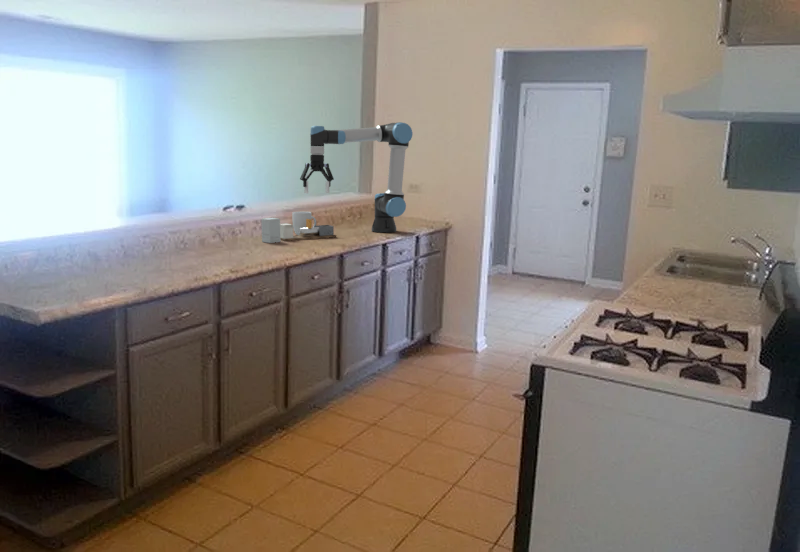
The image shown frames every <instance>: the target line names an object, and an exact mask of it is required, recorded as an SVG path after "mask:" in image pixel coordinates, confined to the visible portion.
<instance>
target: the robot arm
mask: <svg viewBox="0 0 800 552" xmlns="http://www.w3.org/2000/svg"><path fill="white" fill-rule="evenodd" d="M309 135H310V161H309V162H310V163H309V162H305V164H304V168H303V170H302V173H301V176H300V178H299V180H300V181H302V183H303V184H302V185H303V186H302V187H304V194H309V181H308V180H309V179H310V177H311V176H312V175H313V174H314V173H315V172H320V173H321V174H322V175H323V176H324V177H323V178H325V179H326V181H325V193H326V194H330V187H331V182H332V181H334V176H333V174H332V170H331V169H330V163H325V155H324V154H325V145H344V144H345V143H358V142H359V143H360V142H374V141H376V142H378V143H388V147H389V148H390V153H389V154H390V155H389V166H388V175H387V176H388V178H387V188H386V190H385V191H384V193H383V192H381V193H380V192H379V193H376V194H375V195H374V199H373V200H374V219H373V222H372V225H371V232H373V231H374V233H382V232H386V233H396V232H397V225H396V221H395V218H397V217H400V216H402V215H403V214H404V212H405V211H406V208H407V203H406V201H405V200H404V198H405V193H404V192H403V181H404V173H405V172H404V169H405V157H406V150H407V149H408V148H409V144H410V143H409V142H410V141H411V140H412V138H413V128H411V125H409V124H408V123H405V122H389V123H387V124H380V125H376V127H375V126H374V127H363V128H360V127H359V128H347V129H344V128H343V129H332V130H331V129H326V128H325V126H323V125H312V126H311V127H310V134H309ZM309 168H310V169H309ZM394 217H395V218H394Z"/></svg>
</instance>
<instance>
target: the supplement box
mask: <svg viewBox="0 0 800 552" xmlns="http://www.w3.org/2000/svg"><path fill="white" fill-rule="evenodd" d="M260 220H261V242H262V243H267V244H273V243H274V244H275V242H276V243H280V242H281V241H282V240H281V238H280V224H281V219H280V218H277V217H276V218H275V217H266V218H265V217H264V218H261V219H260Z"/></svg>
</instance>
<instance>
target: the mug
mask: <svg viewBox="0 0 800 552" xmlns="http://www.w3.org/2000/svg"><path fill="white" fill-rule="evenodd" d="M312 215H313V214H312V211H292V225H293V232H294V233H295V236H299V233H298V230H299V228H306V219H311V222H312V221H313V222H314V223H313V226H312V227H314V226H317V219H316V217H315V216H312ZM312 219H313V220H312Z"/></svg>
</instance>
